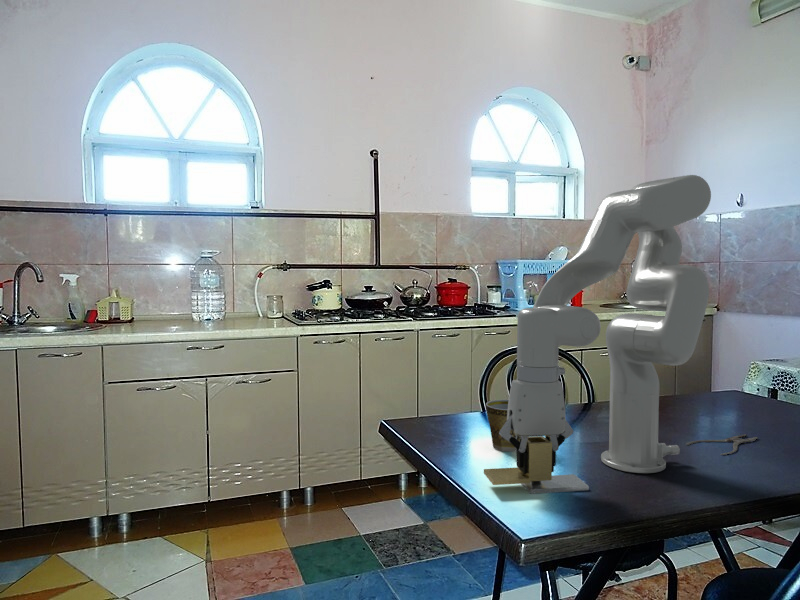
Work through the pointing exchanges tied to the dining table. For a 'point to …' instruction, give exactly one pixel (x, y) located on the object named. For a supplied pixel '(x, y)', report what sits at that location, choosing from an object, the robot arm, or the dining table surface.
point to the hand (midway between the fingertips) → (535, 469)
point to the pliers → (734, 439)
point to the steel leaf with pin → (556, 484)
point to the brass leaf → (537, 465)
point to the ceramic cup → (499, 424)
